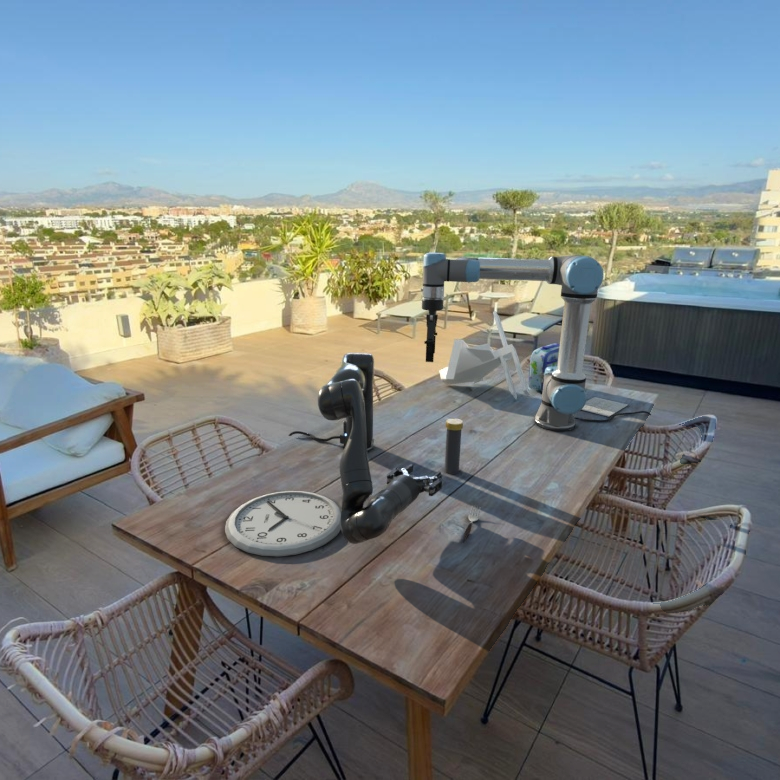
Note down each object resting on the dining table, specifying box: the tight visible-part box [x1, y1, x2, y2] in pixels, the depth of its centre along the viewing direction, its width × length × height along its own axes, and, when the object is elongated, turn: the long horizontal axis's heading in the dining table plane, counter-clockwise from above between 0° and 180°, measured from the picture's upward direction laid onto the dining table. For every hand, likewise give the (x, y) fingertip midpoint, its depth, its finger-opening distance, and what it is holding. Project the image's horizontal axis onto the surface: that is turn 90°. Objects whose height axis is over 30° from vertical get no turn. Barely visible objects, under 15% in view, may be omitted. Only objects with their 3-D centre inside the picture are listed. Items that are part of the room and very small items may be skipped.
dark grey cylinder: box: [444, 428, 462, 475], centre depth 162 cm, size 4×4×16 cm
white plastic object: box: [438, 310, 531, 400], centre depth 245 cm, size 37×45×31 cm
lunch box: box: [528, 343, 560, 392], centre depth 249 cm, size 26×11×21 cm, turn 134°
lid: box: [445, 418, 464, 431], centre depth 160 cm, size 5×5×2 cm
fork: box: [462, 505, 481, 543], centre depth 133 cm, size 3×16×2 cm, turn 160°
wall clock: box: [224, 490, 341, 557], centre depth 134 cm, size 30×2×30 cm
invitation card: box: [580, 396, 629, 418], centre depth 226 cm, size 21×1×15 cm
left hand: (425, 471), depth 145 cm, fingers open, 8 cm apart
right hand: (430, 357), depth 190 cm, fingers open, 13 cm apart
